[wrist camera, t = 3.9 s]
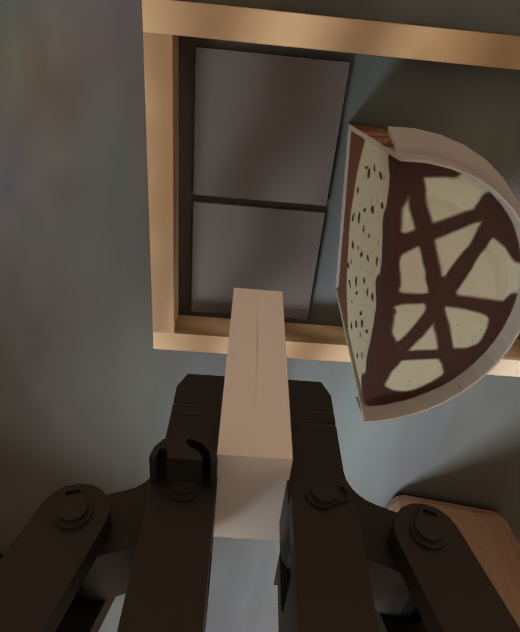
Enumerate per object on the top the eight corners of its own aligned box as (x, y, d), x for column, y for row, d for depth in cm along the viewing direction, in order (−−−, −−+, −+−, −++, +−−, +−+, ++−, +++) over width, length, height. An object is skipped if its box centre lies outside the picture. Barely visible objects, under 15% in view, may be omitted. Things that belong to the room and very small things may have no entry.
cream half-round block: (434, 309, 30) (503, 430, 22) (333, 310, 30) (363, 431, 22) (480, 88, 23) (605, 137, 15) (350, 90, 23) (402, 140, 15)
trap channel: (159, 329, 31) (152, 351, 29) (150, -3, 21) (140, -3, 19) (622, 362, 32) (645, 385, 30) (802, 65, 23) (853, 71, 21)
